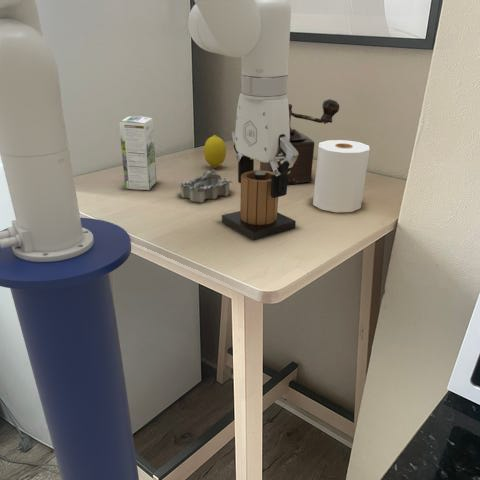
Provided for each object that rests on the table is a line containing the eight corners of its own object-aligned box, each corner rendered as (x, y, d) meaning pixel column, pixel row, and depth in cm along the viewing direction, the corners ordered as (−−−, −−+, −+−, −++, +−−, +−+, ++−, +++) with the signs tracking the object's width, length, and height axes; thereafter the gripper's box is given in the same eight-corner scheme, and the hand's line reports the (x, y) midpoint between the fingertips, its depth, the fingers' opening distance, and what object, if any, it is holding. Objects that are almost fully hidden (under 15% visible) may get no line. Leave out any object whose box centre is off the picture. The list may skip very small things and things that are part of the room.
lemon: (201, 165, 127) (200, 133, 123) (221, 163, 129) (221, 131, 125) (208, 172, 123) (208, 138, 118) (229, 169, 125) (229, 136, 120)
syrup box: (133, 181, 116) (126, 115, 108) (157, 183, 115) (152, 116, 107) (125, 189, 111) (117, 120, 103) (150, 191, 110) (145, 122, 102)
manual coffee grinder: (269, 186, 114) (274, 102, 105) (258, 172, 124) (261, 93, 114) (333, 182, 117) (343, 100, 107) (317, 169, 126) (325, 92, 117)
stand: (253, 240, 89) (255, 185, 83) (221, 222, 96) (221, 170, 90) (295, 228, 94) (299, 175, 88) (262, 212, 101) (264, 162, 95)
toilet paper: (344, 194, 111) (352, 137, 104) (370, 209, 103) (380, 150, 96) (303, 198, 108) (309, 141, 101) (327, 215, 100) (335, 154, 93)
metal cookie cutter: (215, 186, 114) (215, 168, 112) (235, 195, 109) (235, 176, 107) (175, 194, 108) (174, 176, 106) (194, 204, 103) (194, 185, 101)
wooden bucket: (255, 227, 90) (256, 184, 85) (233, 216, 94) (233, 174, 90) (283, 219, 93) (286, 177, 89) (261, 209, 98) (263, 168, 93)
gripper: (216, 82, 85) (218, 180, 95) (280, 96, 74) (275, 207, 83) (250, 78, 89) (249, 173, 99) (317, 91, 77) (308, 198, 87)
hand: (261, 188), depth 91 cm, fingers open, 9 cm apart
